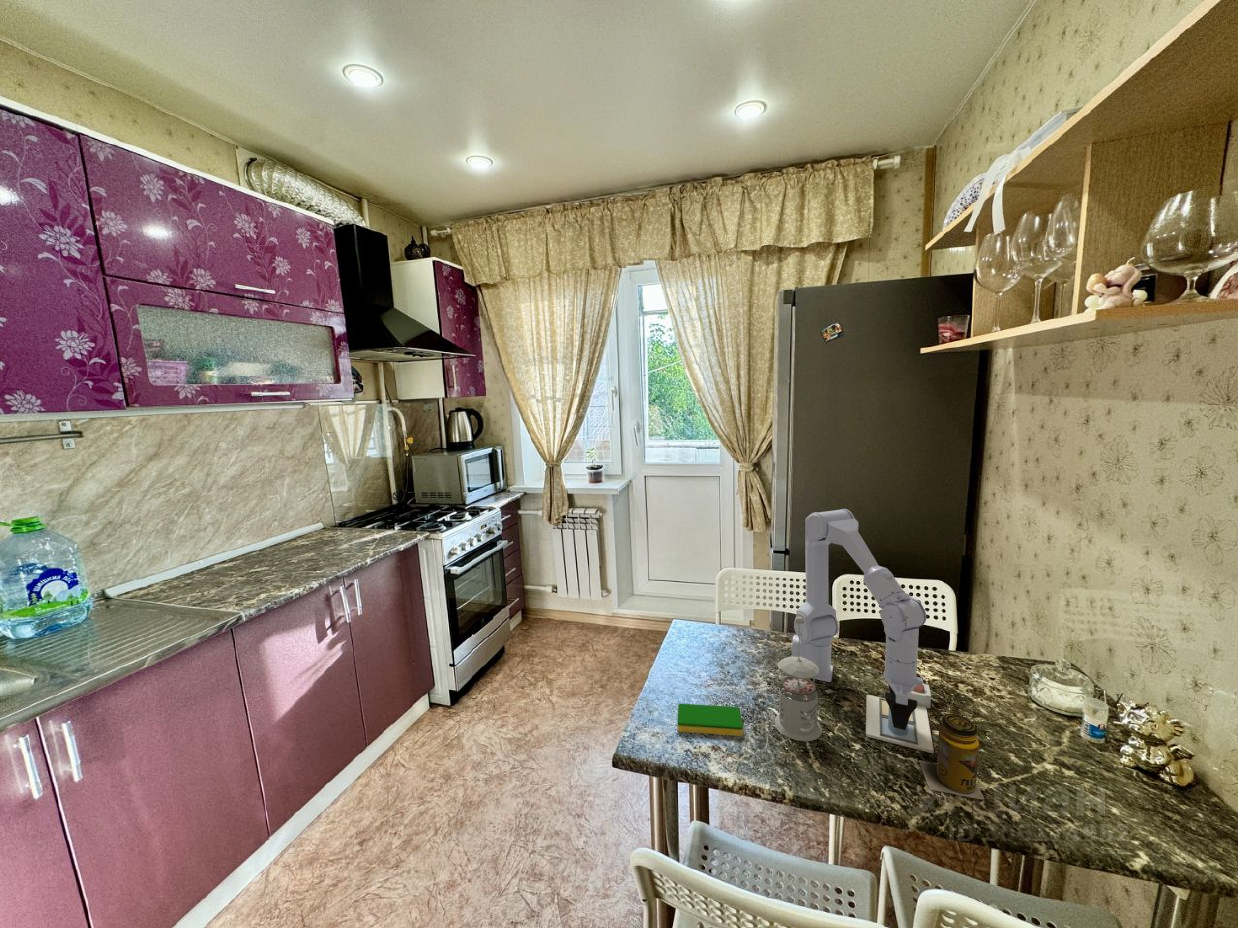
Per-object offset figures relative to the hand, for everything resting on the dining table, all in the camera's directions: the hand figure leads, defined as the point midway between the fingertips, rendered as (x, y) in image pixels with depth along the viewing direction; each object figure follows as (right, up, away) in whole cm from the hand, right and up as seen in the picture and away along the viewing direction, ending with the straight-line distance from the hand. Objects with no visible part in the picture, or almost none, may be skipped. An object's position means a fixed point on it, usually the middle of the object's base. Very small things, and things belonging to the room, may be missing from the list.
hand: (898, 716), depth 102 cm
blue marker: (0, -3, 0) cm, 3 cm away
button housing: (+10, -2, +11) cm, 15 cm away
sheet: (+2, -3, +4) cm, 5 cm away
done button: (+10, -2, +11) cm, 15 cm away
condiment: (+2, -6, -12) cm, 14 cm away
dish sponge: (-39, -5, +6) cm, 40 cm away
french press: (-19, -4, +4) cm, 20 cm away
